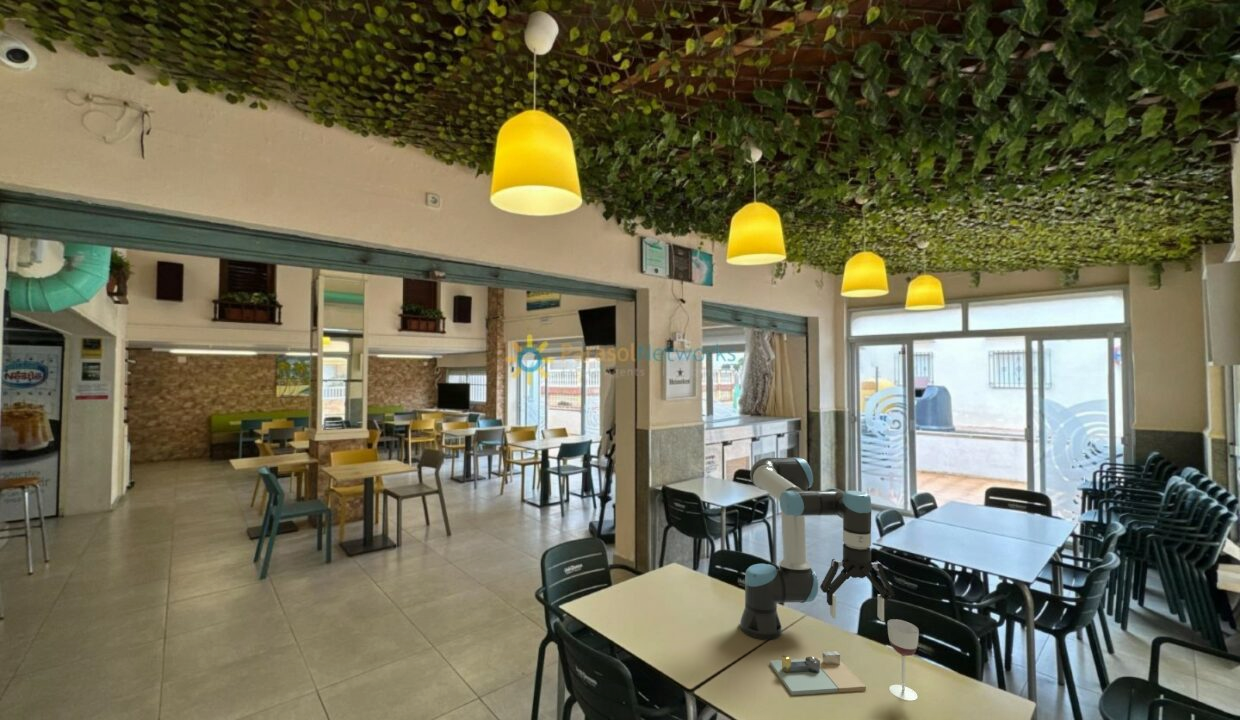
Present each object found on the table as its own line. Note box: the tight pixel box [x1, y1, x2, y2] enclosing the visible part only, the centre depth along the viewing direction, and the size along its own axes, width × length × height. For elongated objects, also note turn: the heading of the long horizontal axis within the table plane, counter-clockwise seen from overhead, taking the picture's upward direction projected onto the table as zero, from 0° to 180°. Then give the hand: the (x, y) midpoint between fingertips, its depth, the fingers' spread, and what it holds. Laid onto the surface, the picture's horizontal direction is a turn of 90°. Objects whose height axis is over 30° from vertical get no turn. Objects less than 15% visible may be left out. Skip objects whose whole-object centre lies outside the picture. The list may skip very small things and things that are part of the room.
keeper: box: [822, 650, 841, 665], centre depth 163 cm, size 2×5×3 cm, turn 97°
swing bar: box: [781, 654, 820, 673], centre depth 159 cm, size 13×4×4 cm, turn 97°
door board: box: [769, 657, 867, 696], centre depth 158 cm, size 16×24×1 cm, turn 97°
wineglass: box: [887, 618, 920, 702], centre depth 151 cm, size 8×9×20 cm
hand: (856, 617), depth 144 cm, fingers open, 13 cm apart
